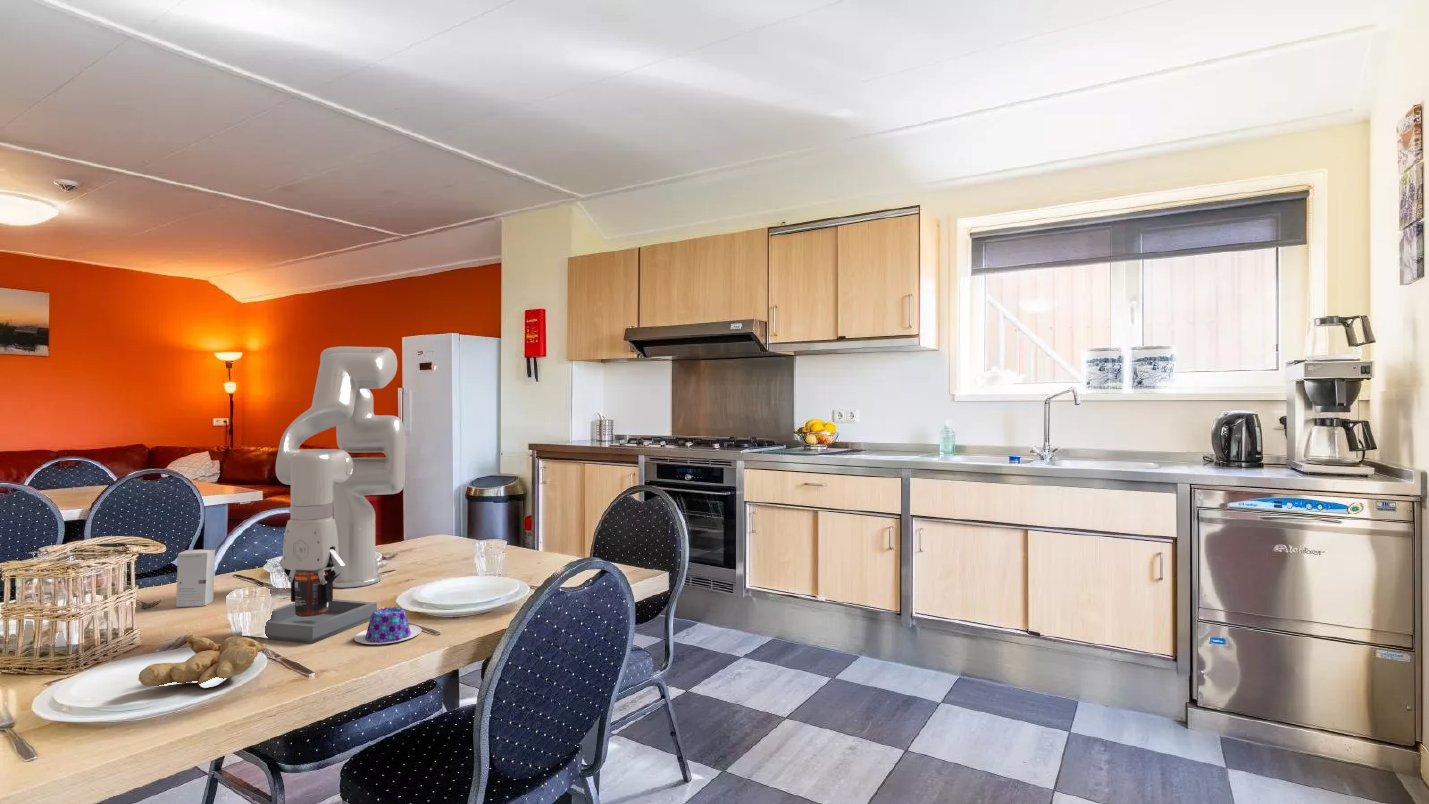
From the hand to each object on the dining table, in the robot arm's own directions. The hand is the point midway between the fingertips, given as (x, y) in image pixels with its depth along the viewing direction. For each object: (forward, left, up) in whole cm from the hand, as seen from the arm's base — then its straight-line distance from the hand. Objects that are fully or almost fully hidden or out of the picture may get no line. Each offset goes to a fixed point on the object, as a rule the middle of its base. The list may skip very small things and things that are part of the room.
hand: (312, 600), depth 146 cm
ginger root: (+27, +7, -6) cm, 28 cm away
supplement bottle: (0, 0, -3) cm, 3 cm away
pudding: (+1, +19, -6) cm, 20 cm away
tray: (0, 0, -5) cm, 5 cm away
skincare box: (-7, -39, -6) cm, 40 cm away
